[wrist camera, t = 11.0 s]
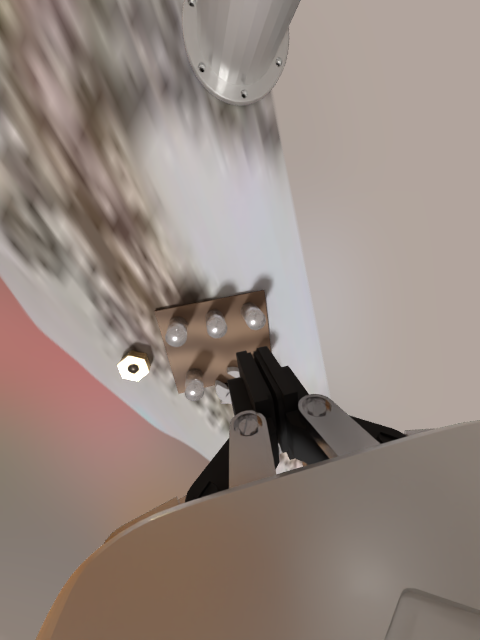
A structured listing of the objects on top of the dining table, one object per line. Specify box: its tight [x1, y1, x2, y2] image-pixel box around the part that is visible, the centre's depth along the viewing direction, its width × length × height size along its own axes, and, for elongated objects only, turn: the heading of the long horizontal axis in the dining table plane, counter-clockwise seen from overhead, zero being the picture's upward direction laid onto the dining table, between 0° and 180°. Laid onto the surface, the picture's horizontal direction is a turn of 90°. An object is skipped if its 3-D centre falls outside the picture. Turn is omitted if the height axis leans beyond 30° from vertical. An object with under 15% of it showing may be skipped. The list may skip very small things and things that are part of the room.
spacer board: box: [155, 290, 271, 393], centre depth 41 cm, size 16×18×1 cm
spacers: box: [165, 302, 266, 401], centre depth 38 cm, size 13×15×5 cm
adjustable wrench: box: [215, 367, 282, 454], centre depth 47 cm, size 25×6×2 cm, turn 24°
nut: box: [118, 350, 151, 381], centre depth 39 cm, size 4×5×2 cm
